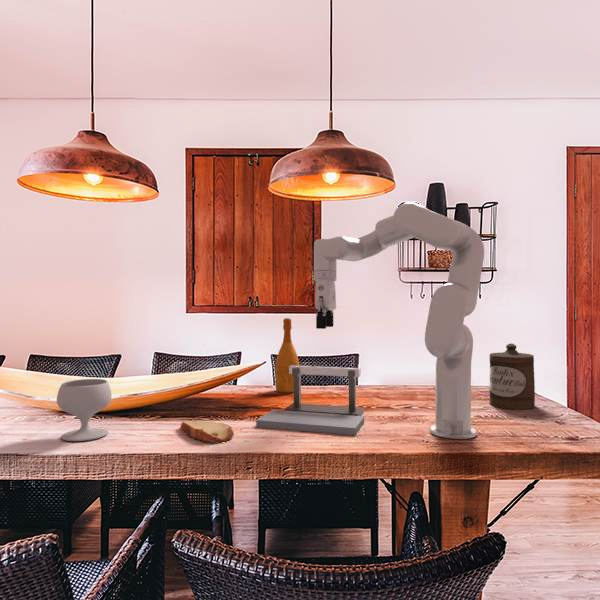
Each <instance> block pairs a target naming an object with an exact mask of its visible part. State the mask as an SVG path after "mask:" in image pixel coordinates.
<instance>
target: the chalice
mask: <svg viewBox="0 0 600 600" xmlns="http://www.w3.org/2000/svg"><path fill="white" fill-rule="evenodd" d="M111 400H112V391H111V387H110V384H109V382H108V381H107V380H106V379H101V378H86V379H85V378H83V379H74V380H70V381H65V382H62V383H61V385H60V386H59V388H58V390H57V396H56V404H57V406H58V408H59V409H60V410H61V411H64V412H65V413H67V414H70V415H73V416H75V417H76V418H77V419H79V421H80V428H79V429H75V430H74V429H73V430H70V431H68V432H65V433H63V434H62V435H61V436H60V440H63V441H66V442H67V441H68V442H85V441H92V440H96V439H99V438H103V437H106V436H107V435H108V434H109V431H108V430H107V429H104V428H95V427H92V428H91V427H90V426H89V422H90V419H91V418H92V417H93V416H94V415H95V414H97V413H99V412H100V411H102V410H103V409H105V408H106V407H107V406H108V405H109V404H110V403H111V402H112V401H111Z"/></svg>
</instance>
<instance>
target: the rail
mask: <svg viewBox="0 0 600 600" xmlns="http://www.w3.org/2000/svg"><path fill="white" fill-rule="evenodd" d="M292 368H298V374H302V375H306V376H307V375H309V376H310V375H312V376H326V377H327V376H331V377H348V371H354V377H356V378H360V377H361V375H362V374H361V369H362V368H360V367H342V366H341V367H340V366H339V367H338V366H318V365H316V366H315V365H314V366H313V365H312V366H311V365H299V366H296V365H291V366H289V374H292Z"/></svg>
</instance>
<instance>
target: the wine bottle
mask: <svg viewBox="0 0 600 600" xmlns="http://www.w3.org/2000/svg"><path fill="white" fill-rule="evenodd" d="M282 329H283V338H282V339H283V340H282V343H281V346H280V348H279V350H278V354H277V356H276V360H275V370H274V372H275V374H274V375H275V390H276V391H277V392H279V393H281V394H282V393H286V394H289V393H290V394H291V393H292V392H293V393H294V377H293V376H292V374H289V366H291V365H296V366H300V362H299V357H298V354H297V351H296V349H295V347H294V343H293V341H292V334H291V330H292V329H293V327H292V319H291V318H288V317H287V318H286V317H285V318H284V319H283V326H282ZM293 393H292V394H293Z"/></svg>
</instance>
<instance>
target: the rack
mask: <svg viewBox="0 0 600 600" xmlns="http://www.w3.org/2000/svg"><path fill="white" fill-rule="evenodd" d="M302 375H303V374H298V368H292V376H293V377H294V392H293V402H292V403H291V404H290V405H288V406H287V407H285V408H284V409H283V411H296V412H310V413H324V414H338V415H352V416H361V415H362V416H363V415H364V413H365V407H359V406H357V377H354V371H348V376H347V379H348V406H345V405H330V404H329V405H328V404H316V403H315V404H313V403H302Z"/></svg>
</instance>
